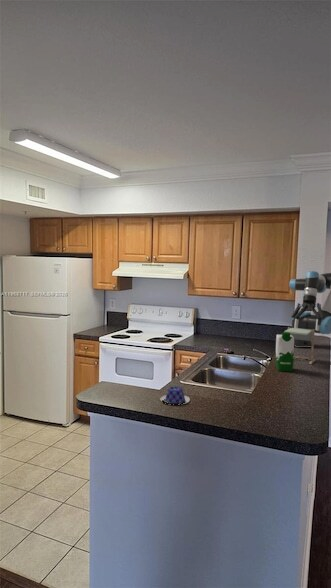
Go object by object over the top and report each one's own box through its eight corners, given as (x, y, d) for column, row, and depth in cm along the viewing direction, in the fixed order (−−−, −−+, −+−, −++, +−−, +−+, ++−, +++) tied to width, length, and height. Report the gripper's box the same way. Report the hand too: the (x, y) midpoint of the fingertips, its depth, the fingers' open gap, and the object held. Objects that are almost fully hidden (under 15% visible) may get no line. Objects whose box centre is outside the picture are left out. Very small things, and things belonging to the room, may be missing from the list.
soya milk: (277, 371, 194) (278, 333, 193) (273, 366, 203) (275, 330, 202) (294, 372, 193) (296, 333, 192) (290, 367, 202) (291, 330, 201)
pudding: (156, 397, 155) (156, 385, 155) (182, 394, 160) (183, 382, 159) (166, 408, 144) (166, 394, 144) (194, 404, 148) (195, 391, 148)
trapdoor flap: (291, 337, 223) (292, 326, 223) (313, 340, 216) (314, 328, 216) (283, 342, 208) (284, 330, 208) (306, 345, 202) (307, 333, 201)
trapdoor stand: (289, 357, 225) (290, 325, 223) (315, 360, 217) (316, 328, 215) (284, 360, 216) (285, 328, 214) (311, 364, 208) (312, 330, 206)
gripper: (288, 294, 237) (284, 327, 233) (327, 293, 218) (323, 329, 214) (294, 298, 242) (290, 330, 238) (332, 297, 223) (329, 332, 219)
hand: (306, 330), depth 226 cm, fingers open, 13 cm apart
